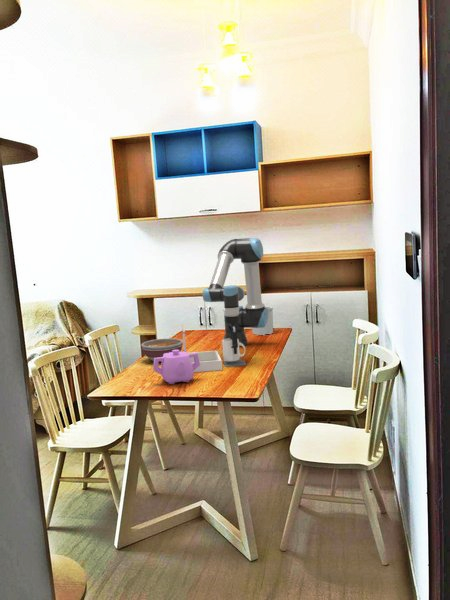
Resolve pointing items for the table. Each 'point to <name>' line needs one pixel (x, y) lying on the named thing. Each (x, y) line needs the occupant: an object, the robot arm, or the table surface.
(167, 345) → the bowl
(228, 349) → the mug
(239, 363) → the slate mat
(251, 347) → the table surface
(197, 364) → the purple rounded pot
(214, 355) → the cold frame
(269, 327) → the utensil holder
